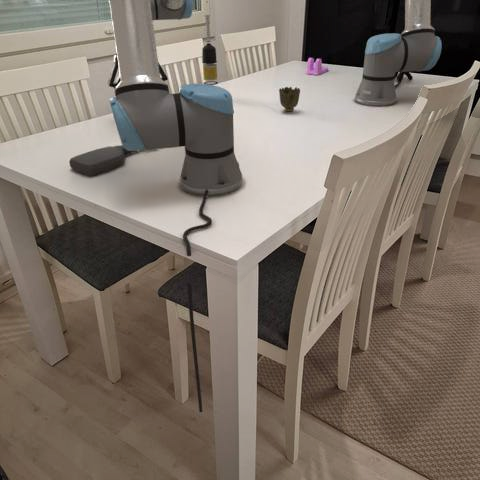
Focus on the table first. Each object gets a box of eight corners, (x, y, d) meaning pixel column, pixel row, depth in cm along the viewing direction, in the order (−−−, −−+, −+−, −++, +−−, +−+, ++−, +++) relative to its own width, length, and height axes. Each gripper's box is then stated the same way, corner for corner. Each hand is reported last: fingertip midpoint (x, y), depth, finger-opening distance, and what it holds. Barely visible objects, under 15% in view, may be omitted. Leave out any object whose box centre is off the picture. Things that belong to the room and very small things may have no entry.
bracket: (317, 75, 212) (318, 59, 208) (306, 73, 215) (307, 58, 211) (329, 70, 221) (331, 55, 217) (319, 69, 223) (320, 54, 220)
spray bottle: (67, 168, 120) (139, 144, 136) (91, 178, 114) (163, 151, 130) (65, 157, 118) (137, 134, 134) (89, 167, 112) (162, 142, 128)
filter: (220, 99, 177) (217, 15, 161) (206, 100, 176) (202, 16, 160) (215, 96, 182) (212, 14, 166) (202, 97, 180) (197, 14, 164)
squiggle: (400, 92, 202) (376, 71, 205) (417, 76, 202) (392, 56, 205) (405, 81, 191) (380, 59, 194) (423, 64, 191) (397, 42, 194)
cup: (275, 113, 160) (275, 90, 156) (283, 107, 165) (284, 85, 161) (294, 115, 157) (295, 92, 153) (302, 110, 162) (303, 87, 158)
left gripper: (165, 34, 152) (171, 97, 163) (91, 40, 143) (103, 106, 154) (172, 36, 146) (178, 102, 158) (95, 43, 137) (107, 111, 149)
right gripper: (447, -77, 122) (431, 10, 133) (550, -84, 107) (522, 15, 118) (458, -76, 126) (441, 8, 138) (559, -83, 111) (531, 12, 123)
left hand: (141, 104), depth 156 cm, fingers open, 13 cm apart
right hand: (479, 11), depth 128 cm, fingers open, 13 cm apart
